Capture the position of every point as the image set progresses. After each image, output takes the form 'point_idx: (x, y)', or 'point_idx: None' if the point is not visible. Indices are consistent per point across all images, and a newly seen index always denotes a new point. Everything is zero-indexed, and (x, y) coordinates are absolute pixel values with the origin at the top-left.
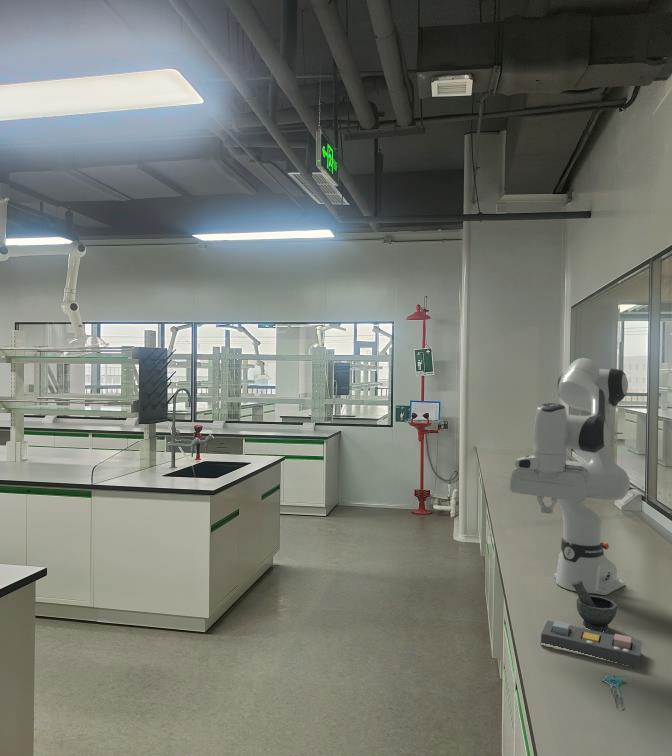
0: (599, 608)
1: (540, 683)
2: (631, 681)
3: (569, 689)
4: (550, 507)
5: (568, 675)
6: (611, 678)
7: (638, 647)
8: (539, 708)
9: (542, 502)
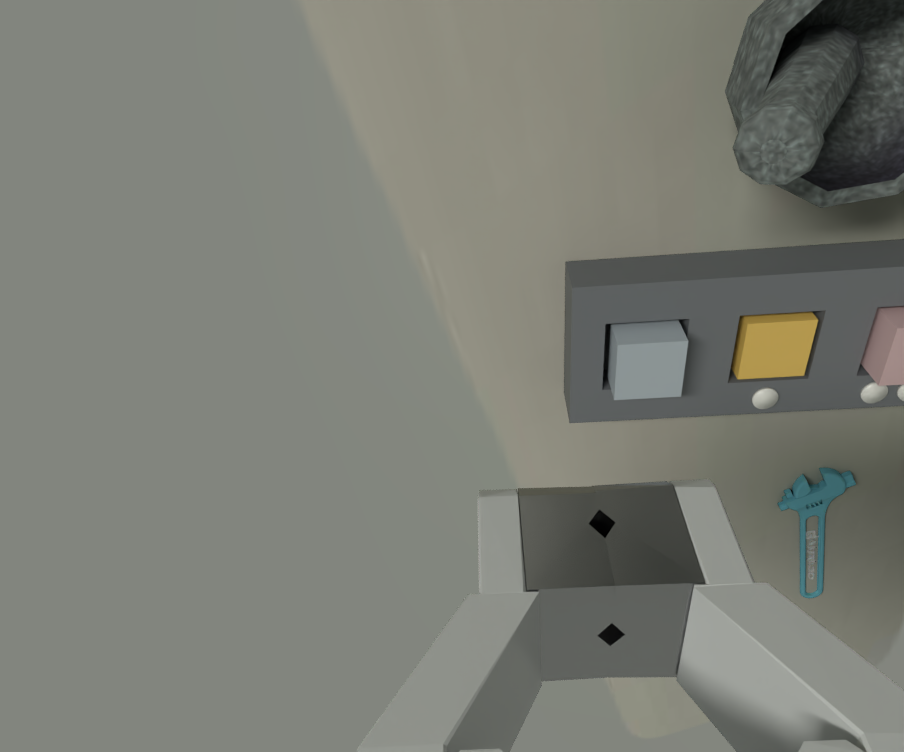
0: (874, 191)
1: None
2: (875, 463)
3: None
4: (694, 675)
5: None
6: (811, 496)
7: None
8: None
9: (502, 714)
